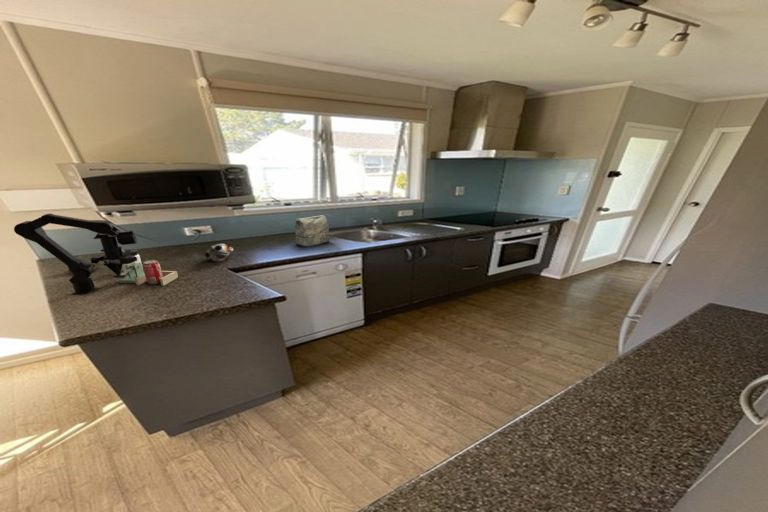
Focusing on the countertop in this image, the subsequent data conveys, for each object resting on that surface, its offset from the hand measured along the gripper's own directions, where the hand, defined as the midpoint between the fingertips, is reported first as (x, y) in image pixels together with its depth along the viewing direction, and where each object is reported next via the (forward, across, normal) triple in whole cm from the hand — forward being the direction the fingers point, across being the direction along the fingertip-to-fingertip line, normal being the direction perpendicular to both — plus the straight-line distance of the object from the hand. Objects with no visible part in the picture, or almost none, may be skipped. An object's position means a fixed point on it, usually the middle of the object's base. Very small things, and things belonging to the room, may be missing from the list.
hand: (118, 274), depth 148 cm
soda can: (+6, -14, -5) cm, 16 cm away
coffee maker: (+6, 0, -10) cm, 12 cm away
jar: (+6, +12, -22) cm, 26 cm away
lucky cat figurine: (+6, -28, -44) cm, 52 cm away
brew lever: (+1, 0, -5) cm, 5 cm away
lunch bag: (+6, -80, -88) cm, 119 cm away
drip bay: (+6, -14, -6) cm, 17 cm away
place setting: (+6, +37, -23) cm, 44 cm away
